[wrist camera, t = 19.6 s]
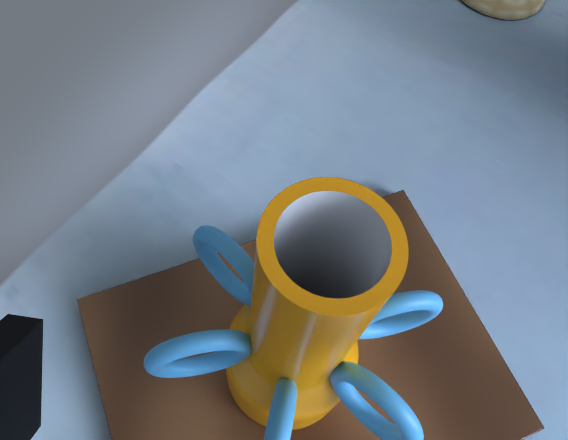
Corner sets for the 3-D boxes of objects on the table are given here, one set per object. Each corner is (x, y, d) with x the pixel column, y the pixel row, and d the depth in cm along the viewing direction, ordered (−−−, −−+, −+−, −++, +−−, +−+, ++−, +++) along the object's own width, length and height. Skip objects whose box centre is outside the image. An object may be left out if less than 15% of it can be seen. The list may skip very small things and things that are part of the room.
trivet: (399, 197, 34) (403, 189, 33) (534, 430, 27) (545, 428, 27) (81, 305, 29) (76, 299, 28) (160, 619, 22) (157, 624, 22)
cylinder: (125, 357, 27) (18, 214, 13) (270, 229, 31) (297, 24, 17) (302, 554, 23) (391, 623, 10) (438, 381, 27) (628, 269, 14)
